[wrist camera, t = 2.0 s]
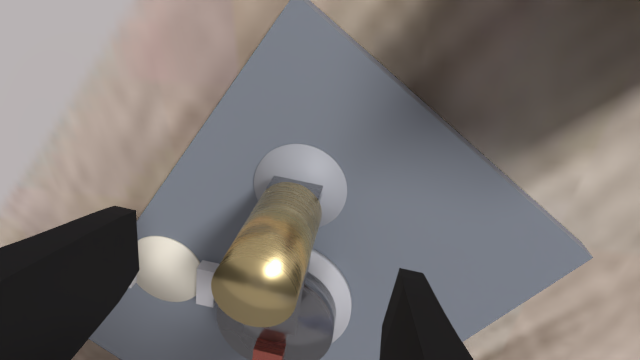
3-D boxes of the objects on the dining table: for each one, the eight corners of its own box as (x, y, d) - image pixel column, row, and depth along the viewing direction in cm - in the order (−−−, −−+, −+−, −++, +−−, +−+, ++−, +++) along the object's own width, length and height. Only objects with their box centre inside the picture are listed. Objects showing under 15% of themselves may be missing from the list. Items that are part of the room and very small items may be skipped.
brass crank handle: (326, 359, 18) (304, 490, 13) (223, 334, 19) (167, 454, 14) (367, 183, 14) (356, 281, 9) (235, 155, 14) (160, 237, 10)
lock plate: (581, 242, 16) (600, 267, 14) (282, 442, 24) (275, 471, 23) (297, -11, 13) (286, -10, 12) (76, 308, 22) (54, 331, 20)
